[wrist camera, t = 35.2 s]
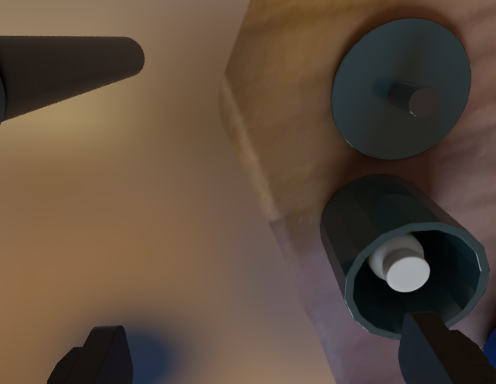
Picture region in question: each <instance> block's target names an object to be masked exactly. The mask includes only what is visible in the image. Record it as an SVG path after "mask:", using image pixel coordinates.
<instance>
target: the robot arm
mask: <svg viewBox="0 0 496 384" xmlns="http://www.w3.org/2000/svg"><path fill="white" fill-rule="evenodd" d="M398 357H399V365H400V369H401V373H402V375H403V378H404V380H405V382H406V384H496V369H495V368H494V366H493V365H491V364H490V361H489V360H488V358H487V357H486V356H485V355H484V353H483V352H482V351H481V349H480V348H479V347H478V345H477V344H476V343H474V342H473V341H472V340H470V339H469V338H468V337H466V336H465V335H464V334H463V333H461V332H460V331H459V330H449V329H448V328H447V326H446V325H445V324H444V322H443V321H442V319H441V318H440V316H439V315H438V314H437V313H436V312H433V311H430V312H409V313H406V314H405V315H404V319H403V325H402V332H401V339H400V346H399V353H398ZM132 380H133V364H132V359H131V355H130V351H129V347H128V342H127V338H126V334H125V330H124V327H123V326H100V327H94V328H93V329H92V330H91V332H90V334H89V336H88V338H87V340H86V342H85V344H84V346H83V347H73V348H72V349H71V350H70V352H68V353H67V354H66V355H65V356H64V357H63V358H62V359H61V360H60V361H59V362H58V363H57V365H56V366H55V368H54V370H53V372H52V373H51V375H50V377H49V379H48V381H47V384H132Z"/></svg>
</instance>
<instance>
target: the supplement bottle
mask: <svg viewBox="0 0 496 384" xmlns="http://www.w3.org/2000/svg"><path fill="white" fill-rule="evenodd" d="M365 259H366V260H367V262H368V264H369V266H370V268H371V269H372V271H373V272H374V273H375V274H376V275H377V276H378V277H379V278H381V279H383V280H386V281H387V283H388V284H389V286H390V287H391V288H393V289H394V290H396V291H400V292H410V291H414V290H416V289H418V288H420V287H421V286H422V285H423V284H425V282H426V281H427V279H428V277H429V274H430V268H429V265H428V263H427V262H426V260H425V259H424V251H423V248H422V246H421V244H420V243H419V241H418V240H417V239H416V238H415V237H414V236H413V234H412V233H411V232H408V233H406V234H403V235H401V236H398V237H396V238H393V239H390V240H388V241H386V242H384V243H383V244H382V245H381V246H380V247H378V248H377V249H376V250H375V251H374V252H372V253H371V254H370V255H369V256H368V257H366V258H365Z"/></svg>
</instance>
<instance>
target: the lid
mask: <svg viewBox="0 0 496 384" xmlns="http://www.w3.org/2000/svg"><path fill="white" fill-rule="evenodd" d="M470 85H471V70H470V63H469V60H468V56H467V54H466V51H465V49H464V47H463V46H462V44H461V43H460V41H459V40H458V38H457V37H456V36H455V35H454V34H453V33H452V32H451V31H449V30H448V29H447V28H445V27H444V26H442V25H440V24H438V23H436V22H433V21H430V20H425V19H419V18H406V19H398V20H394V21H390V22H387V23H385V24H382V25H380V26H378V27H376V28H374V29H372V30H371V31H369V32H368V33H366V34H365V35H364V36H362V37H361V38H360V39H359V40H358V41H357V42H356V43H355V44H354V45H353V46H352V47H351V48H350V49H349V51H348V52H347V53H346V55H345V56H344V58H343V59H342V61H341V63H340V65H339V67H338V69H337V71H336V74H335V77H334V80H333V84H332V89H331V109H332V115H333V118H334V122H335V124H336V126H337V128H338V131H339V132H340V134H341V135H342V137H343V138H344V139H345V140H346V141H347V142H348V143H349V144H350V145H351V146H352V147H353V148H354V149H356V150H357V151H359V152H361V153H362V154H365V155H367V156H369V157H373V158H376V159H383V160H397V159H404V158H408V157H412V156H414V155H417V154H420V153H422V152H424V151H426V150H428V149H429V148H431V147H432V146H434V145H435V144H437V143H438V142H439V141H440V140H442V139H443V138H444V137H445V136H446V135H447V134H448V133H449V132H450V130H451V129H452V128H453V127H454V126H455V124H456V123H457V121H458V120H459V118H460V116H461V114H462V112H463V110H464V108H465V106H466V103H467V100H468V96H469V92H470Z"/></svg>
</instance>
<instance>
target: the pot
mask: <svg viewBox="0 0 496 384" xmlns="http://www.w3.org/2000/svg"><path fill="white" fill-rule="evenodd" d="M408 232H411V233H412V234H413V236H414V237H415V238H416V239H417V240H418V241H419V243H420V244H421V246H422V248H423V251H424V259H425V260H426V262H427V263H428V265H429V268H430V274H429V277H428V279H427V281H426V282H425V284H423V285H422V286H421V287H420V288H418V289H416V290H414V291H410V292H400V291H396V290H394V289H393V288H391V287H390V286H389V284H388V283H387V281H386V280H383V279H381V278H379V277H378V276H377V275H376V274H375V273H374V272H373V271H372V269H371V268H370V266H369V264H368V262H367V260H366V259H365V258H366V257H368V256H369V255H370V254H371V253H372V252H374V251H375V250H376V249H377V248H378V247H380V246H381V245H382V244H383V243H384V242H386V241H388V240H390V239H393V238H396V237H398V236H401V235H403V234H406V233H408ZM320 234H321V241H322V243H323V246H324V249H325V251H326V254H327V256H328V259H329V262H330V264H331V267H332V269H333V272H334V275H335V277H336V280H337V283H338V285H339V288H340V290H341V293H342V296H343V298H344V301H345V303H346V305H347V307H348V309H349V312H350V314H351V316H352V318H353V320H355V321H356V322H357V323H358V324H360V325H361V326H362V327H363V328H365V329H366V330H367V331H369V332H370V333H372V334H375V335H379V336H383V337H386V338H390V339H393V340H400V339H401V332H402V325H403V319H404V315H405V314H406V313H409V312H430V311H433V312H436V313H437V314H438V315H439V316H440V318H441V319H442V321H443V322H444V324H445V325H446V326H447V328H448V329H449V328H450V327H451V326H453V325H454V324H456V323H457V322H459V321H460V320H461V319H463V318H464V317H466V316H467V315H469V313H470V312H471V310H472V309H473V308H474V306H475V305H476V304H477V302H478V301H479V300H480V298H481V297H482V296H483V294H484V292H485V288H486V284H487V280H488V276H489V272H490V269H489V265H488V261H487V257H486V253H485V249H484V247H483V246H482V245H481V244H480V243H479V242H478V241H477V240H476V239H475V238H474V237H473V236H472V235H471V234H470V233H469V232H468V231H467V230H466V229H465V228H464V227H463V226H462V225H460V224H459V223H458V222H457V221H456V220H455V219H453V218H452V217H451V216H450V215H449V214H448V213H446V212H445V211H444V210H443V209H442V208H441V207H440V206H438V205H437V204H436V203H435V202H434V201H433V200H431V199H430V198H429V197H428V196H427V195H426V194H424V193H423V192H422V191H421V190H420V189H419V188H418V187H416V186H415V185H414V184H413V183H411V182H409V181H407V180H405V179H403V178H400V177H397V176H393V175H386V174H377V175H370V176H365V177H362V178H359V179H356V180H354V181H352V182H350V183H349V184H347V185H346V186H344V187H343V188H341V189H340V190H339V191H338V192H337V193H336V194H335V195H334V196H333V197H332V198H331V200H330V201H329V202H328V204H327V206H326V208H325V210H324V212H323V215H322V219H321V224H320Z"/></svg>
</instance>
